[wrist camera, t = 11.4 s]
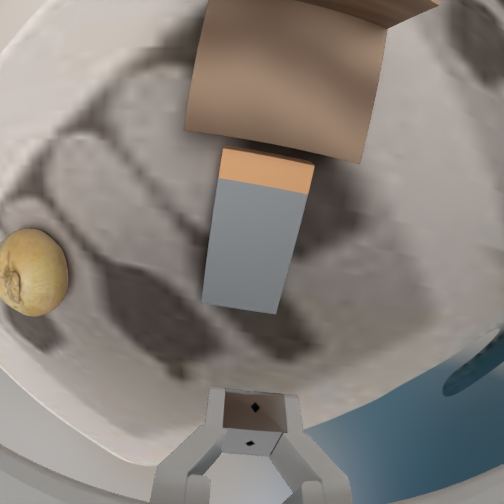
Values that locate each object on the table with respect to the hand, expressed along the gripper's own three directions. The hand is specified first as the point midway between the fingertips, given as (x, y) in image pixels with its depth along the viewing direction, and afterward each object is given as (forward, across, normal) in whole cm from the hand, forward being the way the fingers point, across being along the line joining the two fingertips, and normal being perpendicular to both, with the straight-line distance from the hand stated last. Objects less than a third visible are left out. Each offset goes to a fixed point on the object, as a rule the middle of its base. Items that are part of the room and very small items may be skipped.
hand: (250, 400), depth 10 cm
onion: (+15, +19, +6) cm, 25 cm away
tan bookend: (+15, 0, -12) cm, 19 cm away
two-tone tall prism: (+15, 0, 0) cm, 15 cm away
